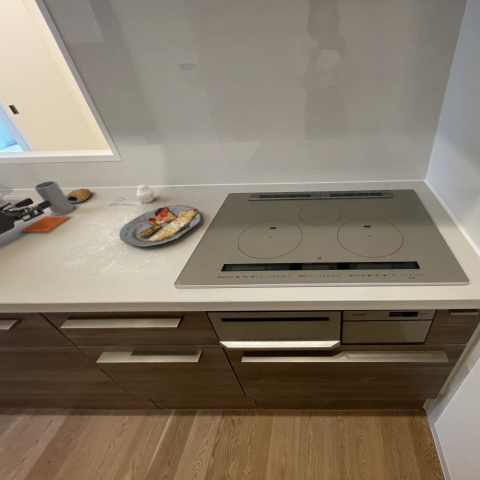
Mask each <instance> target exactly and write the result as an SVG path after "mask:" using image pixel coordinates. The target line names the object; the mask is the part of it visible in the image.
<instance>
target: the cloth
mask: <svg viewBox="0 0 480 480" xmlns="http://www.w3.org/2000/svg"><path fill="white" fill-rule="evenodd" d="M68 219H70V217H69V216H48V215H47V216H43V217H42V218H40V219H39V220H37V221H35V222H34V223H32V224H30V225H29V226H27V227H25V228H23V229H22V230H21V231H22V232H23V233H49V232H51V231H52V230H53V229H55V228H56V227H58V226H59V225H61V224H62V223H64V222H66V221H67V220H68Z"/></svg>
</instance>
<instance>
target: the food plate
mask: <svg viewBox="0 0 480 480" xmlns="http://www.w3.org/2000/svg"><path fill="white" fill-rule="evenodd" d="M201 220H202V215H201V211H200V210H199V209H198V208H195V207H193V206H189V205H184V204H178V205H167V206H166V205H164V206H162V207H159V208H155V209H152V210H150V211H146V212H144V213H142V214H140V215H138V216H137V217H135V218H134V219H132V220H130V221H128V222H127V223H125V224H124V225H123V226H122V227H121V229H120V230H119V234H118V235H119V239H120V240H121V241H122V242H124V243H125V244H128V245H132V246H137V247H149V246H157V245H161V244H165V243H167V242H171V241H174V240H175V239H179V238H180V237H181V236H183V235H184V234H186V233H187V232H188V231H190V230H191V229H192V228H194V227H195V226H196V225H197V224H199V223H200V222H201Z"/></svg>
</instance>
